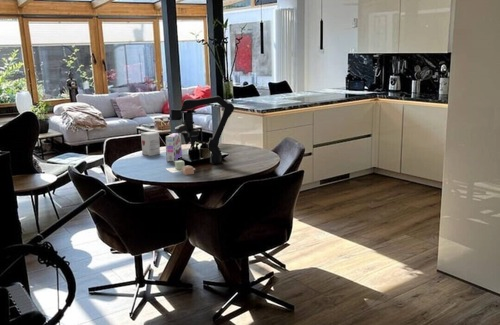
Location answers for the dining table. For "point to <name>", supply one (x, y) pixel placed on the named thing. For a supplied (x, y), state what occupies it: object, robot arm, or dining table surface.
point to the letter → (173, 170)
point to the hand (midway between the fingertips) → (189, 145)
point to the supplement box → (150, 143)
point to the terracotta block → (188, 170)
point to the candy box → (173, 147)
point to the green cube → (179, 164)
